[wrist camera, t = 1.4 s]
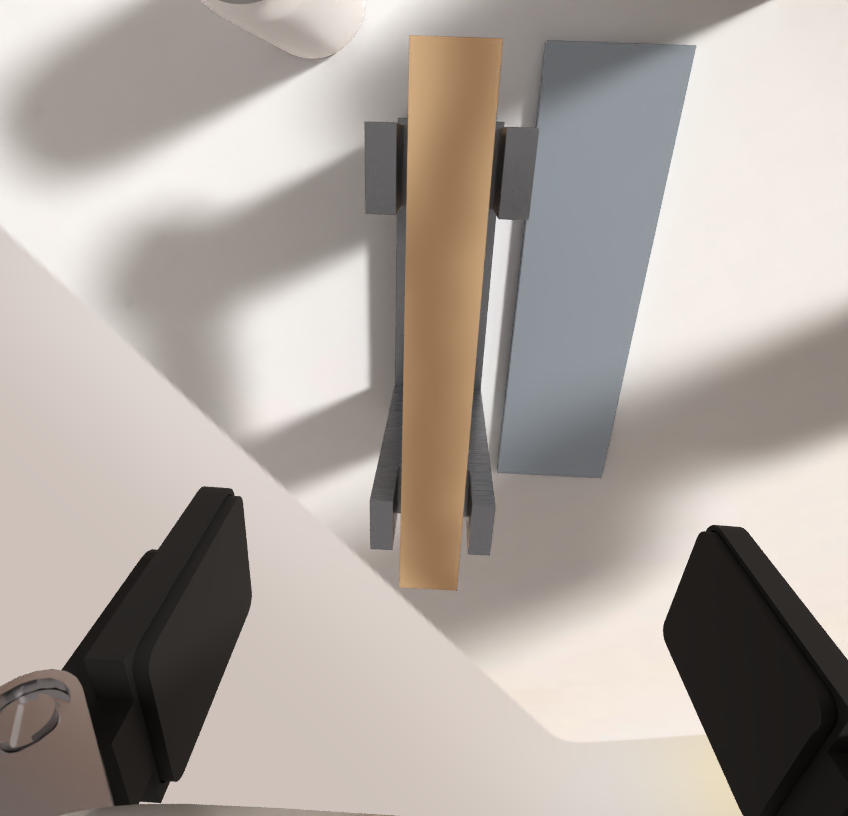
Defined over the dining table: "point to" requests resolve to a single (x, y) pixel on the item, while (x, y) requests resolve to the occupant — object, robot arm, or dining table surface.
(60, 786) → the robot arm
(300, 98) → the dining table surface
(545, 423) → the mat
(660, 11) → the dining table surface
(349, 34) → the can
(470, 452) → the rail rack
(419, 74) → the rail
